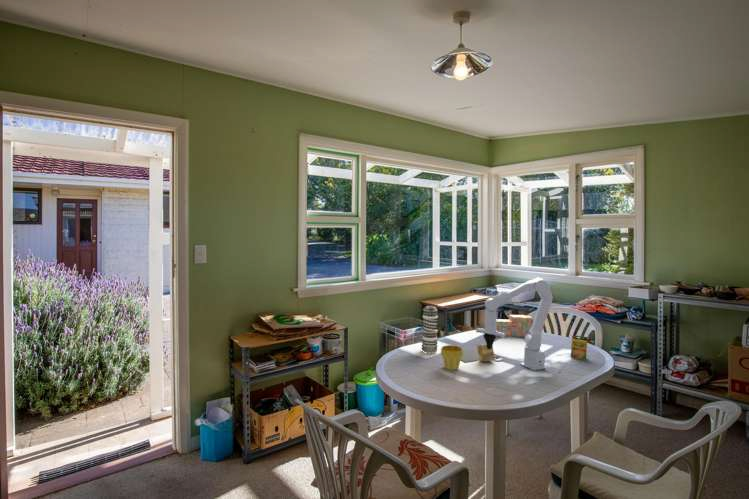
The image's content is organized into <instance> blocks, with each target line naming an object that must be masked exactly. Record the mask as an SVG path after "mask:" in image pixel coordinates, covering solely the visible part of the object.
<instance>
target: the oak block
mask: <svg viewBox="0 0 749 499" xmlns="http://www.w3.org/2000/svg"><path fill="white" fill-rule="evenodd" d="M476 346H477V349H478V356H479V360H478V361H479V362H490V361H495V360H496V358H495V357H494V354H495V352H494V346H493V345H492V349H488V348H487V344H486V343H484V344H478V345H476Z"/></svg>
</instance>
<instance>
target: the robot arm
mask: <svg viewBox="0 0 749 499" xmlns="http://www.w3.org/2000/svg"><path fill="white" fill-rule="evenodd" d="M535 291H536V292H537V293H538V295H539V297H540V301H539V303H538V307H537V309H536V312H535V316H534V319H533V320H532V327H531V328H530V329H529V332H528V333H527V334H526V335H525V337H524V338H523V339H524V343H526V344H525V345H524V353H523V354H524V355H523V356H524V357H523V359H524V360H523V362H519V364H520V365H521V366H523V367H526V368H528V369H530V370H532V371H537V370H542V369H546V366H545V365H546V364H545V360H546V355H545V352H542V350H541V347H542V341H541V340H542V332H543V329H544V327H545V322H546V320H547V317H548V315H549V311H550V310H551V305H552V302H553V300H554V297H553V293H552V289H551V286H550V284H549V283H548V282H547V281H546V280H544V279H543V278H541V277H538V276H537V277H534V278H533V279H530V280H528V281H526V282H523V283H522V284H520V285H519V286H517V287H515V288H513V289H512V290H510V291H507V290H504V291H503V290H500V292H499V293H498V294H496V295H495V296H494V295H492V296H491V297H488V298H486V300H485V301H484V304H483V305H484V307H485V310H484V312H485V313H484V328H482V327H477V328H475V333H479V334H480V333H481V334H483V339H484V340H485V342H486V343H485V344H487V348H488V349H492V345H493V344H494V342H495V340H496V339H497V337H500V338H505V337H506V336H505V333H502V332H499V331H496V320H497V319H498V317H497V310H498V308H500V307H502V306H504V305H507V304H508V303H510V302H512V299H513V298H515V297H517V296H519V295H521V294H523V293H526V292H534V293H535Z"/></svg>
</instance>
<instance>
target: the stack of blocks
mask: <svg viewBox="0 0 749 499" xmlns="http://www.w3.org/2000/svg"><path fill="white" fill-rule="evenodd" d="M532 324H533V317H532V316H531V315H527V314H526V315H525V314H509V319H505V318H504V319H502V318H497V320H496V331H499V332H502V333H505V337H520V338H521V337H522V338H523V337H525V335H526V334H527V333H528V332H529V329H530V328H531V327H532Z"/></svg>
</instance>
